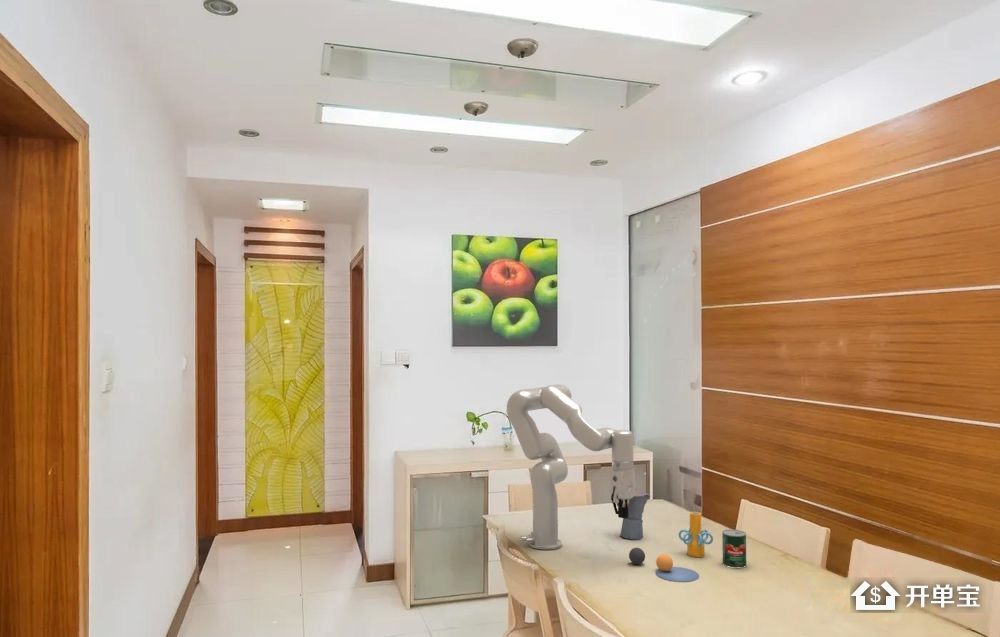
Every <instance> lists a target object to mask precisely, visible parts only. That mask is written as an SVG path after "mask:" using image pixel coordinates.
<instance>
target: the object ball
mask: <svg viewBox="0 0 1000 637" xmlns="http://www.w3.org/2000/svg"><path fill="white" fill-rule="evenodd" d="M655 562H656V563H655V565H656V567H657V568H658V569H660V570H661V571H664V572H667V571H669V570H671V568H672V567H674V561H673V559H672V558H671V556H669V555H668V554H665V553H663V554H660V555H658V557H657V558H656V560H655Z"/></svg>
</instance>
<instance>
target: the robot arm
mask: <svg viewBox="0 0 1000 637" xmlns="http://www.w3.org/2000/svg"><path fill="white" fill-rule="evenodd" d="M571 392H572V391H571V390H570V389H569V387H567V386H566V385H564V384H551V385H547V386H543V387H535V388H526V389H525V388H524V389H520V390H517V391H515V392H513V393H512V394H511V395H510V396H509V398H508V400H507V403H506V413H507V416H508V417H507V418H508V419H509V422H510V424H511V426H512V428H513V429H514V432H515V435H516V437H517V439H518V442H519V444H520V447H521V449H522V452H523V453H524V456H525V457H526V458H527V459H528V460H530V461H536V460H541V461H539V462H538V463H537V462H536V464H534V466H533V467H532V468H531V469H530V472H529V473H530V474H529V480H530V484H531V490H532V491H531V492H532V531H530V534H528V535H520V541H521V542H526V543H528V546H529V547H530V548H532V549H536V550H543V551H545V550H546V551H549V550H551V551H552V550H556V549H559V548H561V547H562V546H563V541H562V540H560V539H559V520H558V519H559V517H558V516H559V513H558V512H559V511H558V510H559V508H558V507H559V506H558V505H559V502H558V501H559V500H558V493H557V489H556V486H555V485H556V484H559V483H562V482H564V481H565V480H566V479H567V477H568V474H569V469H568V464H567V462H566V460H565V458H564V455H563V452H562V450H561V448H560V446H559V444H558V442H557V440H556V439H555V437H554V436H553V435H552V434H550V433H547V432H540V431H539V428H538V427H537V424H536V422H535V420H534V419H533V418H532V416H530V414H529V411H536V410H542V409H548V410H549V411H550V412H552V413H553V414H554V415H555V416H557V418H559V419H560V420H561V421H562V422H563V423H565V424H566V426H567V428H568V431H569V432H570V434H571V435H572V436H573V438H574V439H576V440H577V442H579V443H580V444H581V445H582V446H584V447H585V448H586V449H588V450H589V451H592V452H601V451H604V450H608V449H611V475H610V476H611V478H610V498H611V497H612V498H613V503H616V507H617V510H618V514H617V516H618V518H620V519H623V518H624V519H626V518H628V506H629V501H630V499H632V498H633V497H634V496H635V495H636V491H637V481H636V479H637V478H636V473H635V468H634V434H633V432H632V431H630V430H628V429H615V428H614V429H613V428H611V427H610V428H609V427H601V428H597V429H595V428H594V427H593V426H591V425H590V424H589V423H587V422H586V421H585V419H584V418H583V416H582V412H583V408H582V406H581V405H580V404H579V403H577V402H576V401H575V400H574V399H572V393H571ZM613 503H612V504H613Z"/></svg>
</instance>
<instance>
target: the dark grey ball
mask: <svg viewBox="0 0 1000 637" xmlns="http://www.w3.org/2000/svg"><path fill="white" fill-rule="evenodd" d="M645 554H646V553H645V552H644V550H643V549H642V548H640V547H633V548H632V549H631V550H629V554H628V557H629V561H630V562H631V563H632V564H635V565H641V564H643V562H644V561H645V558H646V555H645Z"/></svg>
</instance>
